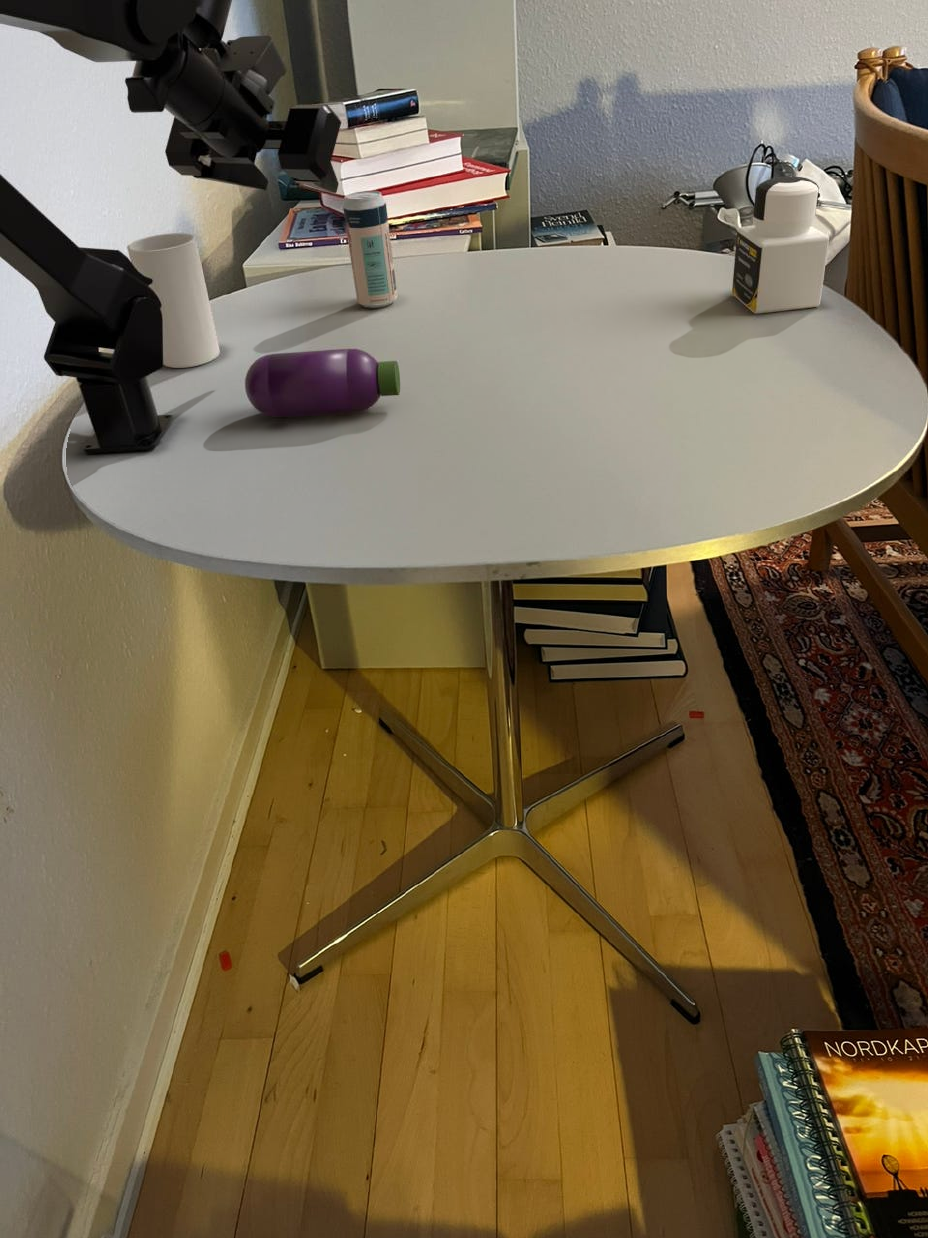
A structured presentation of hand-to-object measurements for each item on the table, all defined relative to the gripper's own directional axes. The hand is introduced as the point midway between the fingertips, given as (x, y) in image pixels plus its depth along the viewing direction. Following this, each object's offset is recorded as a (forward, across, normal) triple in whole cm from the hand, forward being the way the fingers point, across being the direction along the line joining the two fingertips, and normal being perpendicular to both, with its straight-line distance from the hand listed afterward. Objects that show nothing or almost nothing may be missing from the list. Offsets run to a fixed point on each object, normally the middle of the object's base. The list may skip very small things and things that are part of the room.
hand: (300, 186), depth 98 cm
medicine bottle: (+25, -45, -2) cm, 52 cm away
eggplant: (-6, -14, +24) cm, 28 cm away
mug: (+1, +9, +19) cm, 21 cm away
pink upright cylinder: (+16, -2, +6) cm, 17 cm away
